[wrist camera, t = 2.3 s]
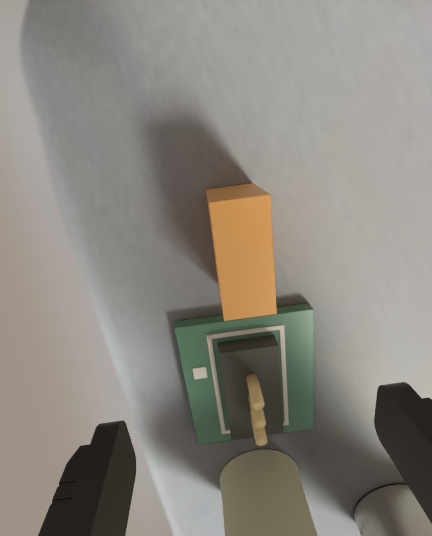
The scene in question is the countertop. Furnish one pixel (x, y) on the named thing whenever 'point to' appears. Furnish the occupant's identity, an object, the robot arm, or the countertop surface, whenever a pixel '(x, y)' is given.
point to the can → (264, 496)
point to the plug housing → (243, 250)
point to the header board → (249, 374)
